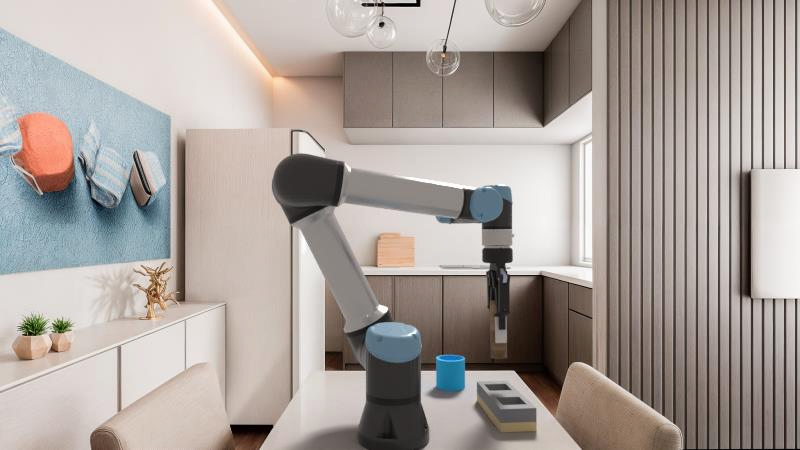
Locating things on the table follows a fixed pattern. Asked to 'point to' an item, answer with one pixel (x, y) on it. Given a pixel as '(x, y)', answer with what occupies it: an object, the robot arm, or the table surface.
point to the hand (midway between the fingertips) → (498, 340)
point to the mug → (450, 372)
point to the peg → (496, 348)
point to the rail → (506, 406)
